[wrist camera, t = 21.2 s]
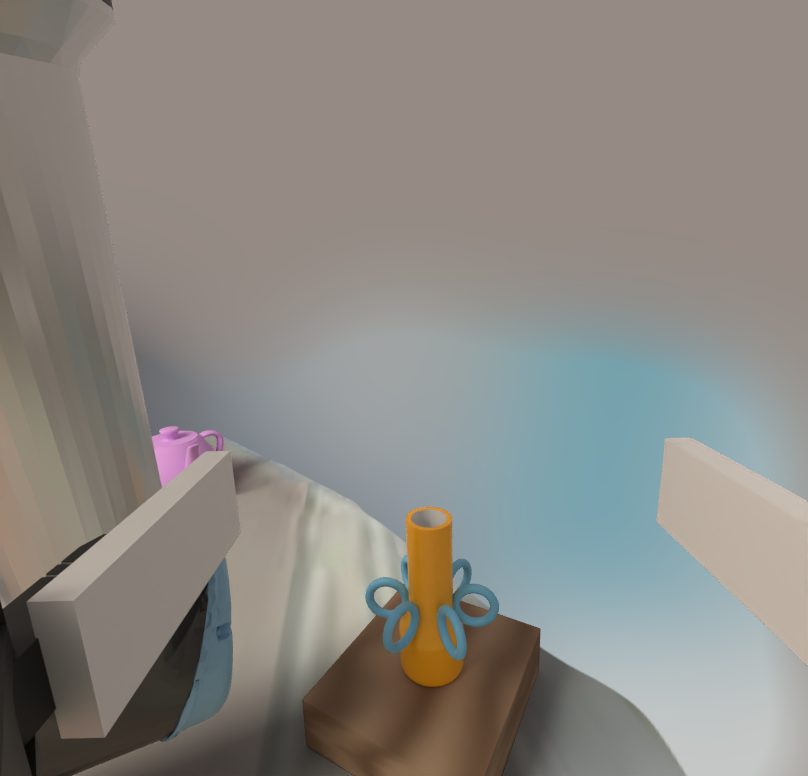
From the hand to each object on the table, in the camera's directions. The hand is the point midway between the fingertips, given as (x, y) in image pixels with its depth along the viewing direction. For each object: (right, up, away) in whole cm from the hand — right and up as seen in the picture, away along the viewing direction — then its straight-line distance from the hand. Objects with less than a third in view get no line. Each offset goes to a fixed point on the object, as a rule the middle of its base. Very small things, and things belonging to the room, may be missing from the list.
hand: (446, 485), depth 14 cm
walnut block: (+1, -28, +30) cm, 41 cm away
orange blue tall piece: (+1, -23, +29) cm, 37 cm away
